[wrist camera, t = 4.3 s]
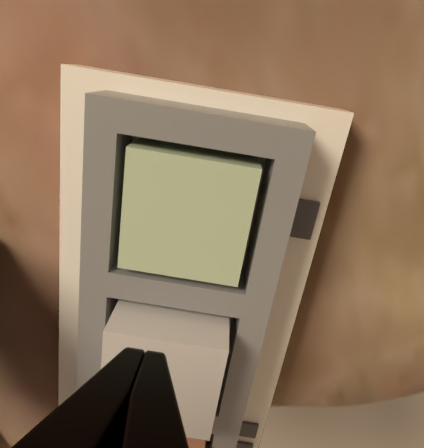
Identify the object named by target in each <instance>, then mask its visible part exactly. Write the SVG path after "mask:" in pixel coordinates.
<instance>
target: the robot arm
mask: <svg viewBox="0 0 424 448" xmlns="http://www.w3.org/2000/svg"><path fill="white" fill-rule="evenodd" d="M11 448H189V446H188V442H187V438H186V434H185V430H184V426H183V422H182V418H181V414H180V411H179V407H178V403H177V399H176V395H175V391H174V387H173V383H172V379H171V375H170V371H169V367H168V363H167V359H166V356H165V354H164V353H163V352H157V351H150V350H148V351H146V352H145V351H144V350H143V349H137V348H131V347H126V348H124V349H123V350H122V351H121V352H120V353H119V354H117V355H116V356H115V357H114V358H113V359H112V360H111V361H109V362H108V363H107V364H106V365H105V366H104V367H103V368H102V369H100V370H99V371H98V372H97V373H96V374H95V375H94V376H92V377H91V378H90V379H89V380H88V381H87V382H86V383H84V384H83V385H82V386H81V387H80V388H79V389H78V390H76V391H75V392H74V393H73V394H72V395H71V396H70V397H68V398H67V399H66V400H65V401H64V402H63V403H62V404H60V405H59V406H58V407H57V408H56V409H55V410H54V411H53V412H51V413H50V414H49V415H48V416H47V417H46V418H45V419H43V420H42V421H41V422H40V423H39V424H38V425H37V426H35V427H34V428H33V429H32V430H31V431H30V432H29V433H27V434H26V435H25V436H24V437H23V438H22V439H21V440H19V441H18V442H17V443H16V444H15V445H14V446H13V447H11Z"/></svg>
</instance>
